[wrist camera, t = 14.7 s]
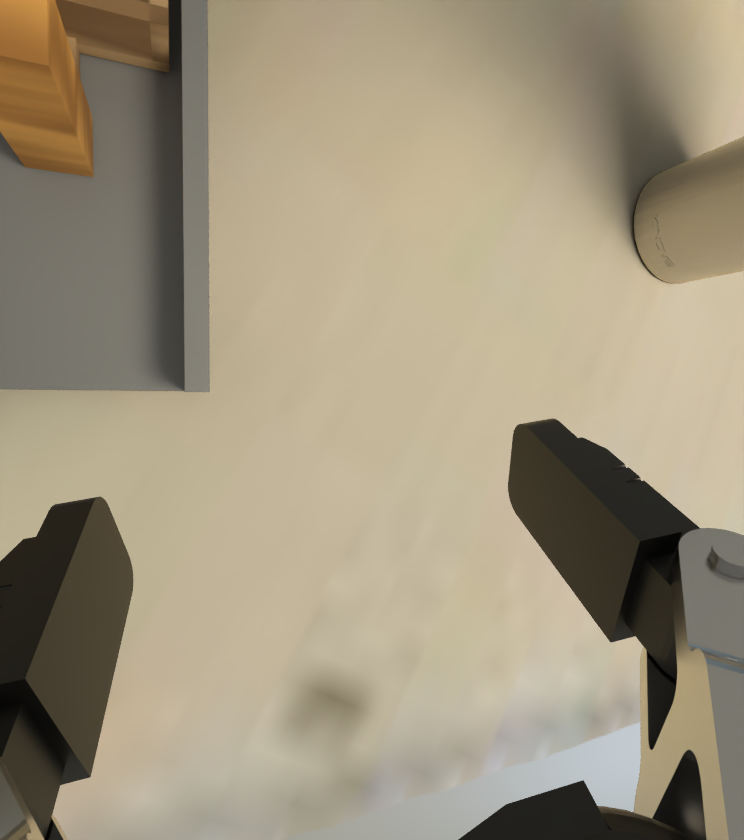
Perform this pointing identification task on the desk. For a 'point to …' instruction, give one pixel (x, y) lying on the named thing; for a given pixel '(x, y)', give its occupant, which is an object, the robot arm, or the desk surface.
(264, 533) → the desk surface
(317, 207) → the desk surface
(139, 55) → the crate
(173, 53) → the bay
